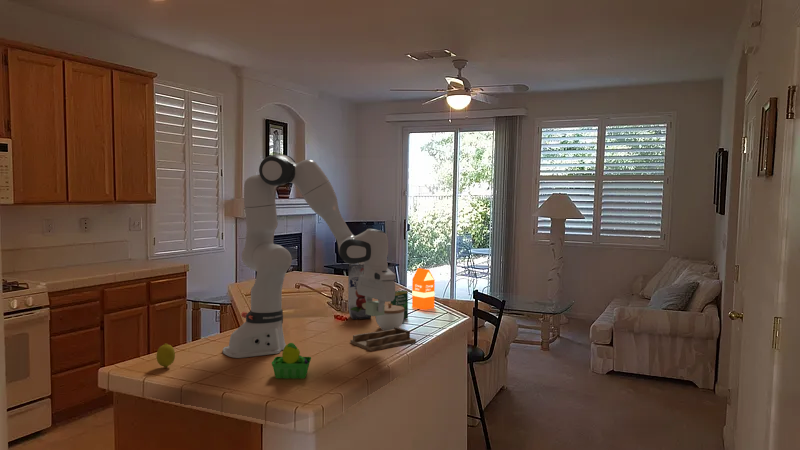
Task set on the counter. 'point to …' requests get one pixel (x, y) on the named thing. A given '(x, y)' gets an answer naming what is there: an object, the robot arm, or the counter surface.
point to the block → (373, 308)
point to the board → (383, 339)
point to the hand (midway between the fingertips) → (374, 310)
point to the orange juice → (423, 289)
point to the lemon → (165, 355)
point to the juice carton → (356, 293)
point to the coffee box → (401, 301)
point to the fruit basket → (291, 363)
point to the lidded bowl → (391, 317)
